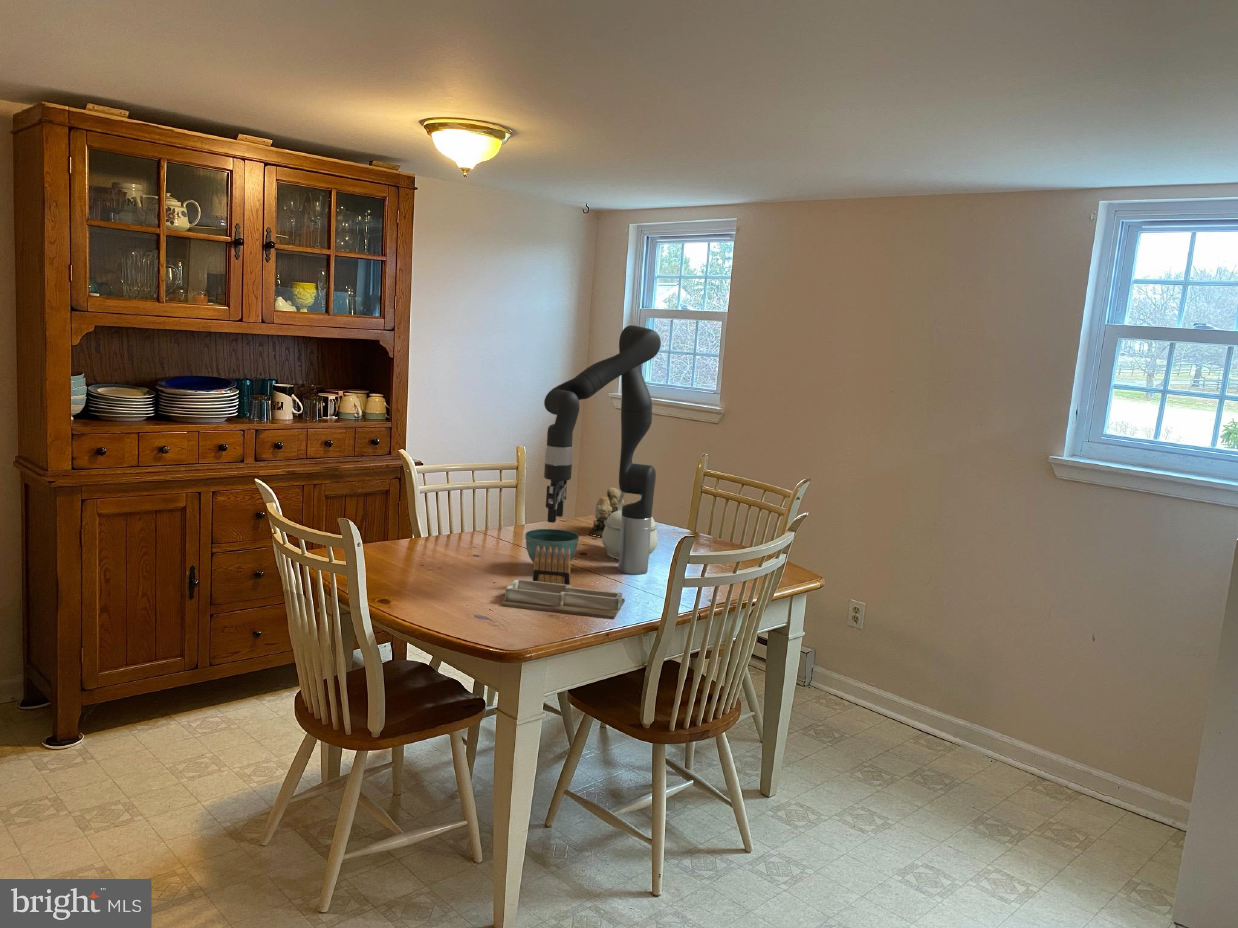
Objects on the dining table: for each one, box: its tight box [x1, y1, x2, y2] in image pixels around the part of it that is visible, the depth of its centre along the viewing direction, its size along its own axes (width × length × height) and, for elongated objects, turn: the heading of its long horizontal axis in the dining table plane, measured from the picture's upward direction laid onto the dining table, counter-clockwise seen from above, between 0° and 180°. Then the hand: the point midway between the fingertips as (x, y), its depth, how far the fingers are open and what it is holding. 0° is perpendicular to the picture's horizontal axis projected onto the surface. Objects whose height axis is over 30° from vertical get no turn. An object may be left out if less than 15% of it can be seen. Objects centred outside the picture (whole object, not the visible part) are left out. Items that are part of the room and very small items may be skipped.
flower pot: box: [524, 528, 580, 571], centre depth 279 cm, size 16×16×11 cm
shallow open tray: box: [501, 578, 626, 620], centre depth 246 cm, size 16×30×4 cm, turn 80°
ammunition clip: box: [531, 546, 572, 585], centre depth 259 cm, size 11×2×12 cm, turn 84°
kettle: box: [601, 491, 659, 560], centre depth 302 cm, size 25×18×25 cm
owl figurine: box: [588, 487, 625, 537], centre depth 333 cm, size 18×12×17 cm, turn 158°
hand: (555, 519), depth 257 cm, fingers open, 8 cm apart
